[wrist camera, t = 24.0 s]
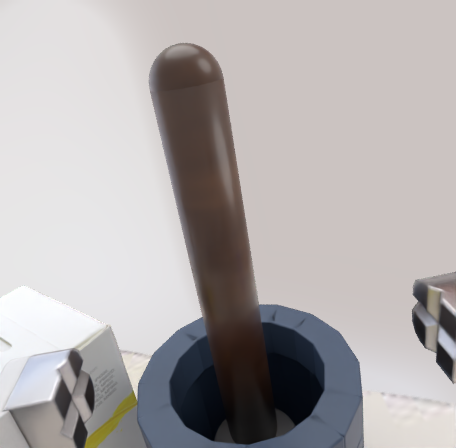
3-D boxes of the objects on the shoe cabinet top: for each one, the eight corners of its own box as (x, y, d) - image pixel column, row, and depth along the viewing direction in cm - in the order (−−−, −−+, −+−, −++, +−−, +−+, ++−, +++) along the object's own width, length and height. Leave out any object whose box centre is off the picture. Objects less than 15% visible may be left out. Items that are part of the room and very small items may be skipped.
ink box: (171, 480, 24) (115, 319, 19) (104, 565, 20) (14, 397, 15) (84, 418, 29) (21, 279, 24) (18, 479, 25) (-71, 331, 20)
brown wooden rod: (309, 471, 22) (258, 28, 13) (306, 556, 19) (233, 35, 9) (237, 463, 23) (142, 49, 14) (222, 543, 20) (81, 61, 10)
